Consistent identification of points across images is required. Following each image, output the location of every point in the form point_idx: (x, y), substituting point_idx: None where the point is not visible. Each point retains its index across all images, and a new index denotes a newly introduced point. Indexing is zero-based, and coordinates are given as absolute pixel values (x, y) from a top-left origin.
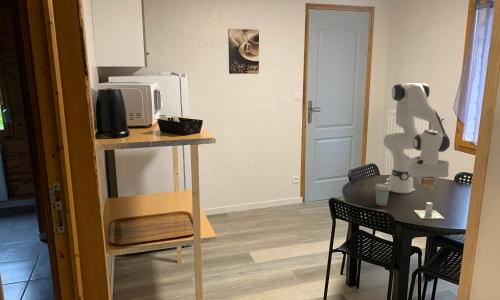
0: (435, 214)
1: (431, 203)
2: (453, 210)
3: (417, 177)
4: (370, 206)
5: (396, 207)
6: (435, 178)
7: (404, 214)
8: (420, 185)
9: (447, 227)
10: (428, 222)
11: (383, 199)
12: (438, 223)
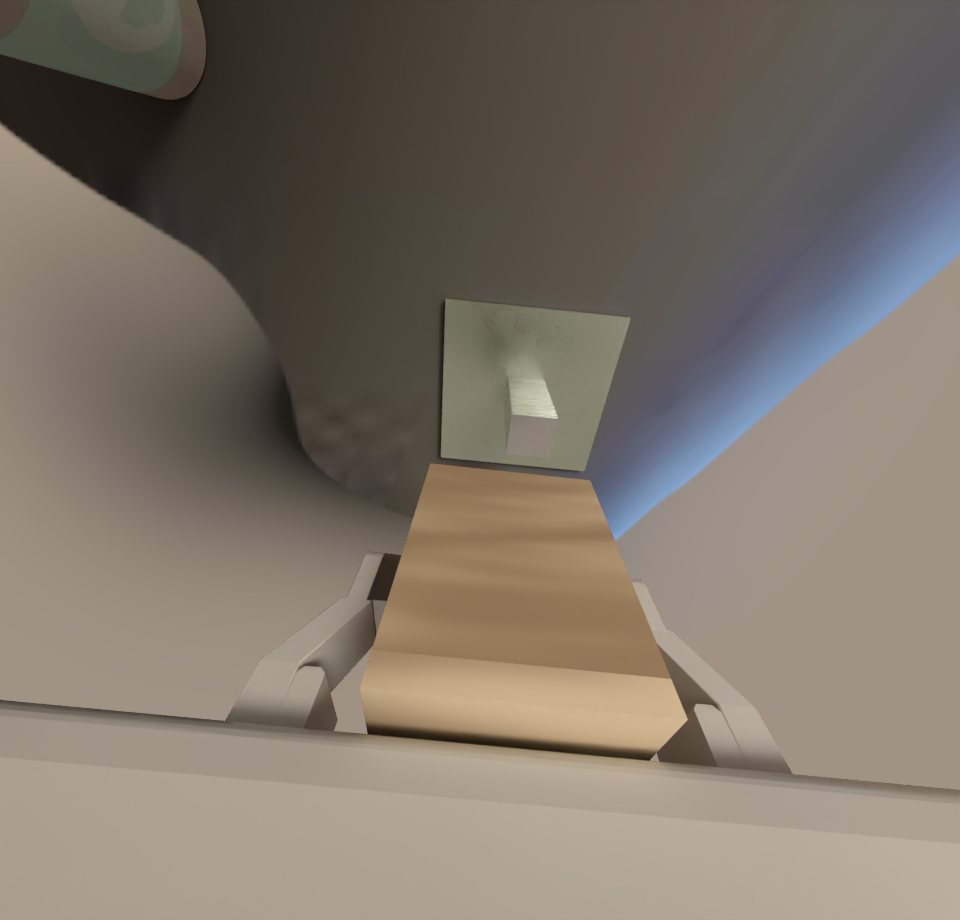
0: (569, 408)
1: (543, 449)
2: (805, 304)
3: (253, 683)
4: (39, 117)
5: (313, 174)
6: (660, 760)
7: (353, 369)
8: (424, 487)
9: None
10: None
11: (93, 78)
12: None
